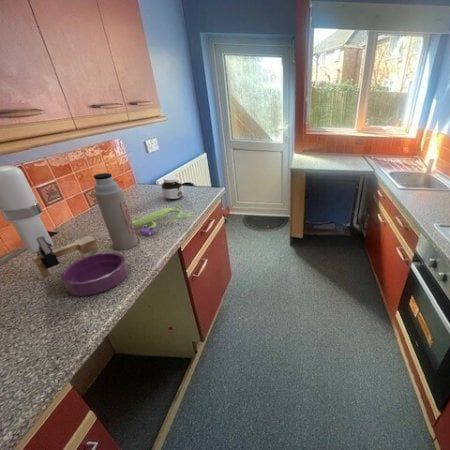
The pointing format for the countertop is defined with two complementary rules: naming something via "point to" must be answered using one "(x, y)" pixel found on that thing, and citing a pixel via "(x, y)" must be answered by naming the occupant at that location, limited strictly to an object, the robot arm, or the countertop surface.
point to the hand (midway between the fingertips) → (51, 264)
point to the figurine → (154, 217)
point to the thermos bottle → (114, 211)
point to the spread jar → (172, 188)
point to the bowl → (95, 274)
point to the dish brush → (83, 245)
